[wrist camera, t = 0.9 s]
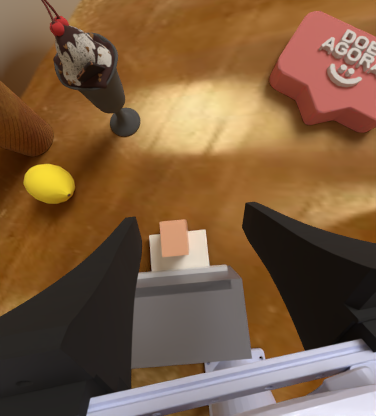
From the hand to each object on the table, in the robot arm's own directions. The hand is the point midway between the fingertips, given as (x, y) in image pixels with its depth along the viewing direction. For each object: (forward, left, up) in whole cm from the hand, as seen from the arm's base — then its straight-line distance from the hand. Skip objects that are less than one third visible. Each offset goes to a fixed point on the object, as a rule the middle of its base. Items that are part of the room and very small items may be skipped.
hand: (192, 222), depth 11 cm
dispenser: (-10, +2, -14) cm, 18 cm away
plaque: (+20, -24, -15) cm, 34 cm away
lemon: (+8, +19, -14) cm, 25 cm away
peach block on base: (-6, +2, -13) cm, 15 cm away
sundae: (+18, +9, -14) cm, 25 cm away
